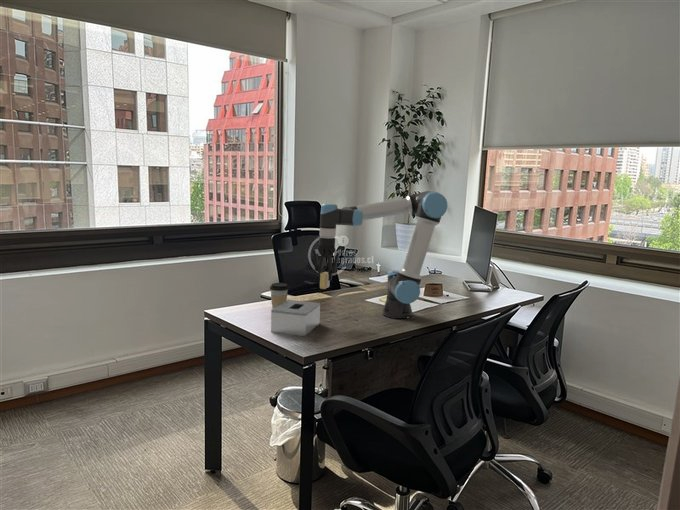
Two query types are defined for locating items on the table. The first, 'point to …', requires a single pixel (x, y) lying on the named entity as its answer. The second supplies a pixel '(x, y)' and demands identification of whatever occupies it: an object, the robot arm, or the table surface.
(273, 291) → the coffee cup
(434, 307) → the table surface
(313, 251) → the robot arm
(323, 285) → the token
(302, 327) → the box
